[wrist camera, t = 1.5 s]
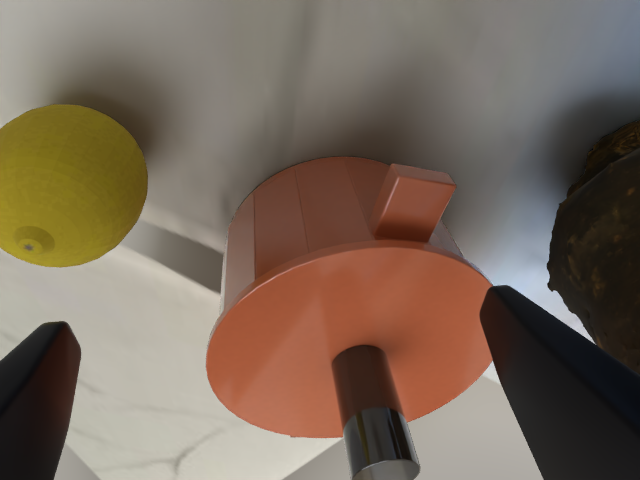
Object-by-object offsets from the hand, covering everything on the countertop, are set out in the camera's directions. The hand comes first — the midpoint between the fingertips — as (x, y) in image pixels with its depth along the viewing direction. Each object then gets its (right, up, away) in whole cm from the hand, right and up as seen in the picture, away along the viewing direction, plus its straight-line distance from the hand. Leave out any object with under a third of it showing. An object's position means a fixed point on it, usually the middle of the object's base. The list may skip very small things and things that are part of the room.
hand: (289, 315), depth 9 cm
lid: (+2, -4, +11) cm, 12 cm away
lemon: (-10, +6, +11) cm, 16 cm away
